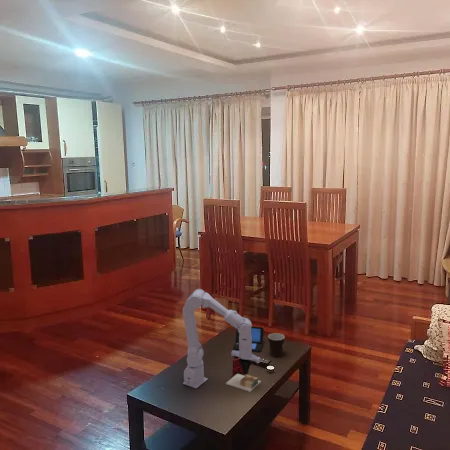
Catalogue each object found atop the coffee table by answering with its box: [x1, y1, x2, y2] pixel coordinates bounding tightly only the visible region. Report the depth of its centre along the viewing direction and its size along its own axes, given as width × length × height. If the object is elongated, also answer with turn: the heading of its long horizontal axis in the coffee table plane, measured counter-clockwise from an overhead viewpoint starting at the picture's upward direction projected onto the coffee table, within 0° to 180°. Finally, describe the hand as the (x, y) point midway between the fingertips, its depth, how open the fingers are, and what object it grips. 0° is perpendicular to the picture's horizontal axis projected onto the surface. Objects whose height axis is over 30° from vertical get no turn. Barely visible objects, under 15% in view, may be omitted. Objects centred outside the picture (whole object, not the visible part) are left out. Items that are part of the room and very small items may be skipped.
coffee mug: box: [267, 332, 285, 358], centre depth 226 cm, size 12×9×10 cm
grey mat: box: [225, 373, 262, 393], centre depth 198 cm, size 10×13×1 cm
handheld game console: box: [232, 326, 265, 353], centre depth 236 cm, size 16×13×9 cm
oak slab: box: [240, 374, 259, 389], centre depth 196 cm, size 6×2×6 cm
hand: (245, 373), depth 197 cm, fingers closed
